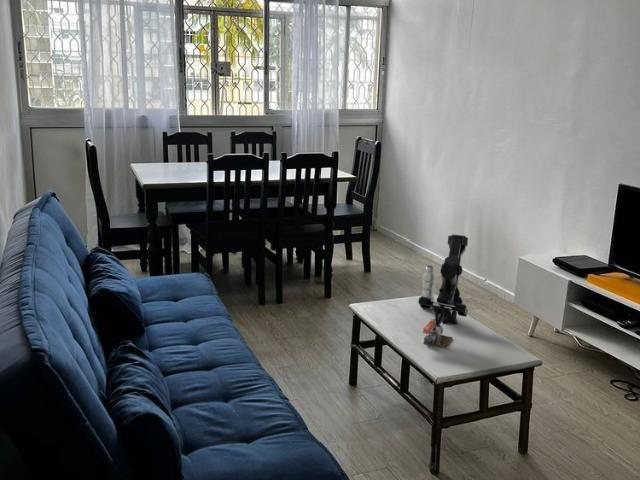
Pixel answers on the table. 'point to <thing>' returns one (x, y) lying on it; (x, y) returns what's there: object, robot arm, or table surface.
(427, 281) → the plastic bottle
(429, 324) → the lever
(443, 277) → the robot arm
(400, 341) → the table surface
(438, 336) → the valve
